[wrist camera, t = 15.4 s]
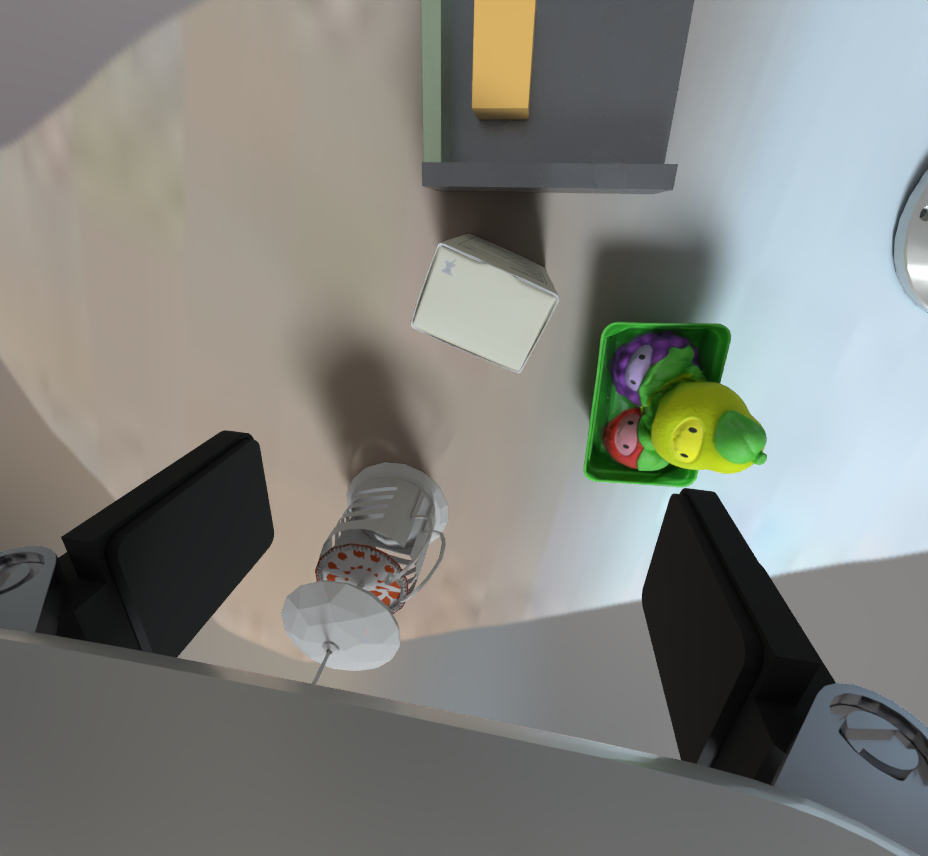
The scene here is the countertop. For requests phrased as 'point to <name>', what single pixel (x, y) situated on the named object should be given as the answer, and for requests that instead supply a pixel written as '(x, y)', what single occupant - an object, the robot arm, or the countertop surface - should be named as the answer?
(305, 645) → the french press
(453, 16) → the box
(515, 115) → the slider
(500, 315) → the skincare box
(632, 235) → the countertop surface
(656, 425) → the fruit basket
